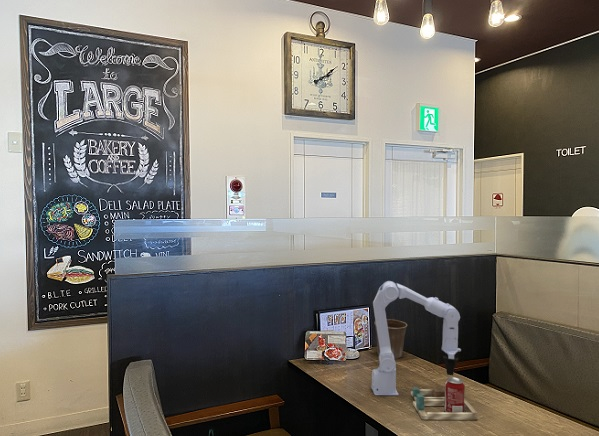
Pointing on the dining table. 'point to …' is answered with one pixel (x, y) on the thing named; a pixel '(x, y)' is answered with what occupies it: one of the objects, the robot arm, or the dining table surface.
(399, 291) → the robot arm
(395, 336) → the plant pot
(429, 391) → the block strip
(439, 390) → the walnut block
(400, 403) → the dining table surface
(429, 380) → the dining table surface
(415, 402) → the teal-tipped beige rail
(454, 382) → the soda can
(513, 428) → the dining table surface
